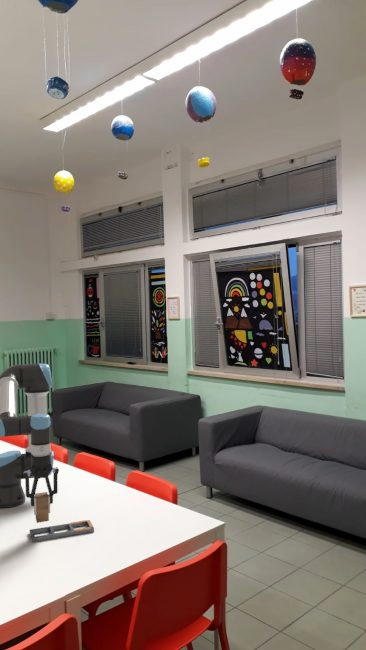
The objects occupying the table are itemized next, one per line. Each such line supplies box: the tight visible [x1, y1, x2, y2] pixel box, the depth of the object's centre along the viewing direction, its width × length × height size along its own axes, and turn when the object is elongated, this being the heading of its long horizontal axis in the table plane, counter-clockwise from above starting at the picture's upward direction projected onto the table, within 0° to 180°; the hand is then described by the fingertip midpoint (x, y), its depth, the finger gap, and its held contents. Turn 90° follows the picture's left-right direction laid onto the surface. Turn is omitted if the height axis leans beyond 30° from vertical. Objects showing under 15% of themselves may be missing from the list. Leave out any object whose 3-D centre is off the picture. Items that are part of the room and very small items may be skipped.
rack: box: [29, 519, 95, 543], centre depth 202 cm, size 9×24×2 cm, turn 112°
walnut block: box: [35, 491, 50, 523], centre depth 200 cm, size 4×4×10 cm
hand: (42, 512), depth 200 cm, fingers closed on walnut block, 4 cm apart
